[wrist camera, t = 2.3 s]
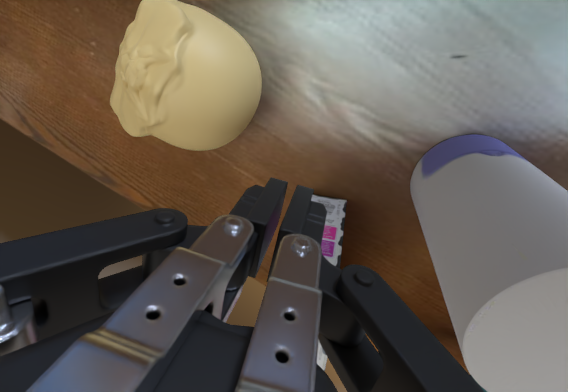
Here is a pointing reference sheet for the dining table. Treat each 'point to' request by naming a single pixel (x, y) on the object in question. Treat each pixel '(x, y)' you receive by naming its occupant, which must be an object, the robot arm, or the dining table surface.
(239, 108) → the sculpture
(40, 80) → the dining table surface
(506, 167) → the container
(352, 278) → the robot arm
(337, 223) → the candy bar box
